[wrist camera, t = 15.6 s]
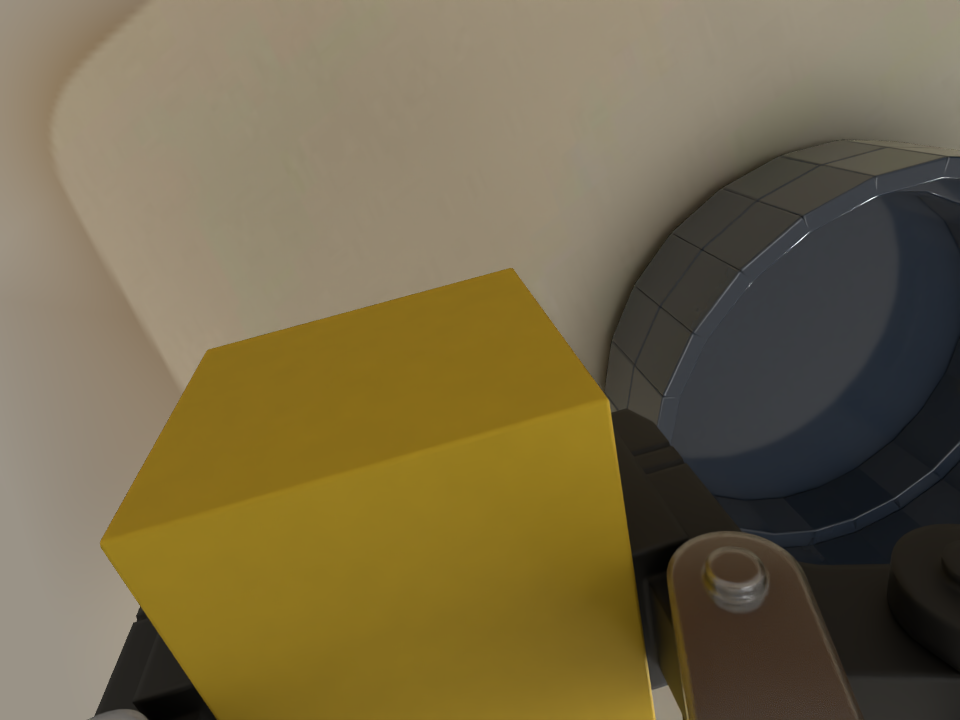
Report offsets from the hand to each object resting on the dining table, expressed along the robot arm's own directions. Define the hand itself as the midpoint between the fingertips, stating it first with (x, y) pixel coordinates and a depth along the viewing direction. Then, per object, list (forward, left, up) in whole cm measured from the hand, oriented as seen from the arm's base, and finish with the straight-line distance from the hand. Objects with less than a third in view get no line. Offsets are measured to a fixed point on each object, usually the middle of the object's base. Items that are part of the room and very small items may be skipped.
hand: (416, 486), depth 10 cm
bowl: (+15, -8, -12) cm, 20 cm away
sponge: (0, 0, 0) cm, 0 cm away
